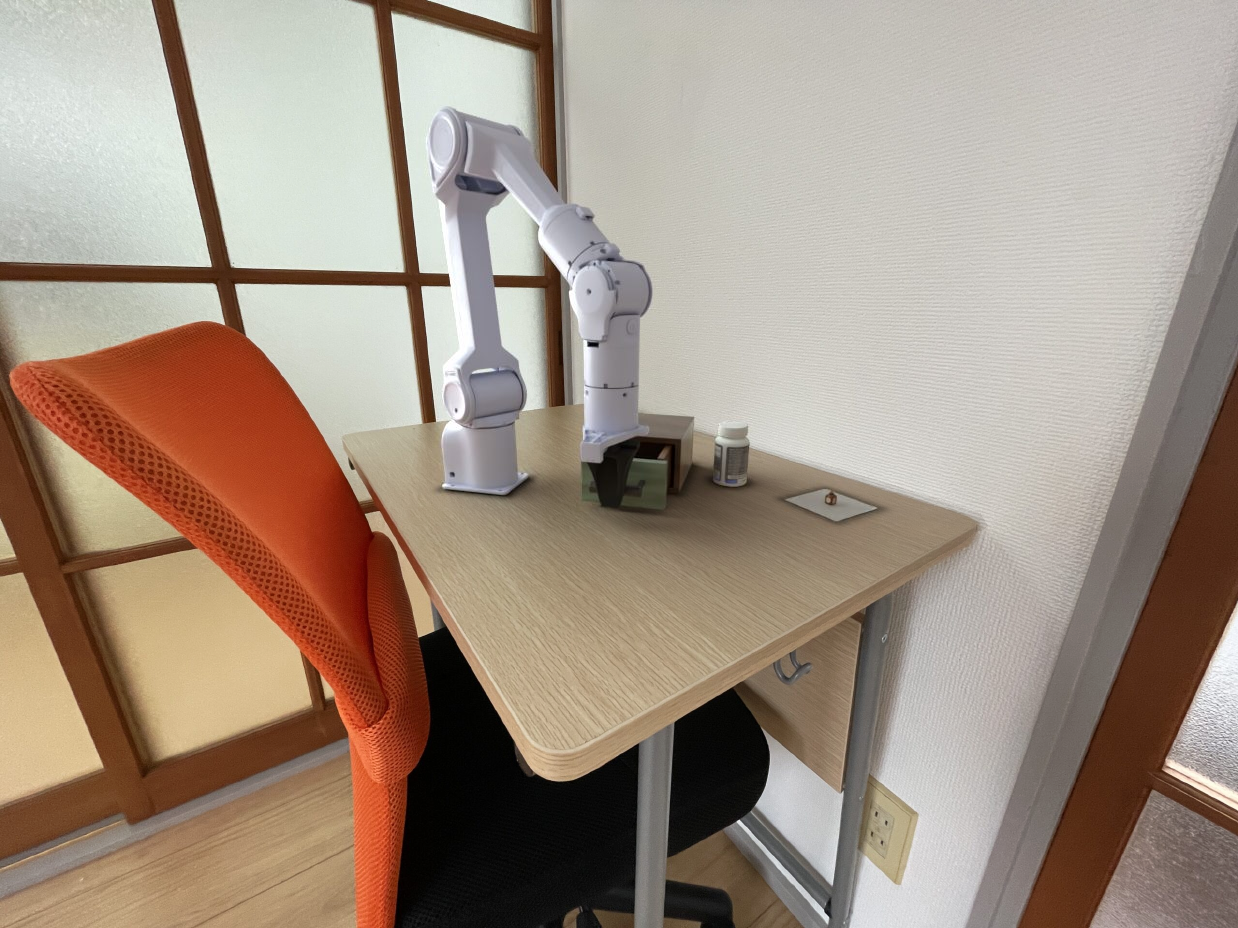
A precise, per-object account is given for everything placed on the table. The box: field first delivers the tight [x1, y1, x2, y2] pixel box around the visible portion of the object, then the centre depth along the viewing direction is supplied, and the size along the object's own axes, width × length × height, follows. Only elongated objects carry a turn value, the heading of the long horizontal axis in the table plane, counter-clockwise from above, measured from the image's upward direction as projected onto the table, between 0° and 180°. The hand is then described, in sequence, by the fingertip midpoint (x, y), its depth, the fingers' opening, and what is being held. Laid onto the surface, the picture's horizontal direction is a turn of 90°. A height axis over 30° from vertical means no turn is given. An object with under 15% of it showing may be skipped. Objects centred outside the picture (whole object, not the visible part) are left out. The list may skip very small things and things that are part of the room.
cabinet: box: [630, 412, 695, 495], centre depth 77 cm, size 14×12×8 cm
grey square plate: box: [784, 488, 878, 522], centre depth 67 cm, size 8×8×2 cm
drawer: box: [580, 442, 675, 511], centre depth 67 cm, size 16×10×6 cm, turn 165°
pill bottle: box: [712, 420, 751, 488], centre depth 74 cm, size 5×5×8 cm
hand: (611, 505), depth 59 cm, fingers closed
